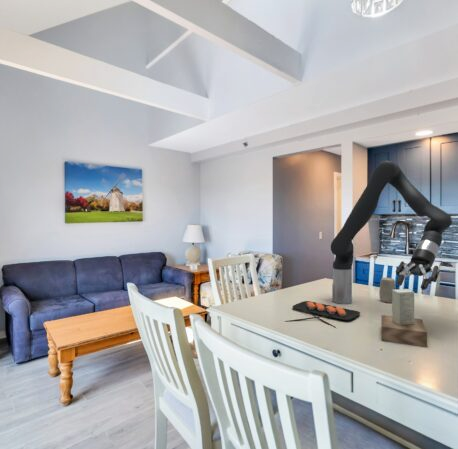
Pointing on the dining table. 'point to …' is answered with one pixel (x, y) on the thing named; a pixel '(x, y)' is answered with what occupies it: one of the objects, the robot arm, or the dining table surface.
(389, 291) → the carving
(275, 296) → the dining table surface
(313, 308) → the sushi plate
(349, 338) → the dining table surface
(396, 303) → the skincare box
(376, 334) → the dining table surface
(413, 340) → the block
